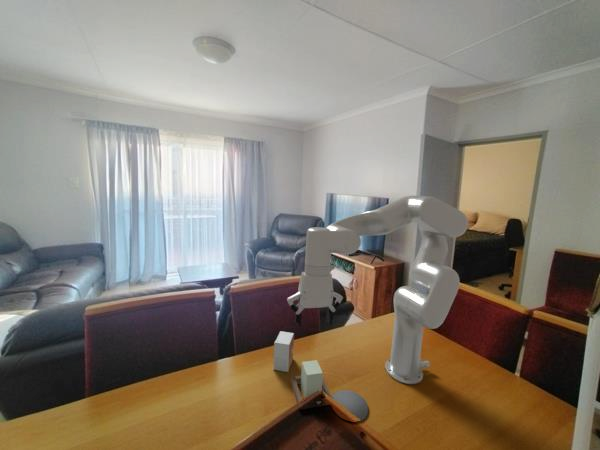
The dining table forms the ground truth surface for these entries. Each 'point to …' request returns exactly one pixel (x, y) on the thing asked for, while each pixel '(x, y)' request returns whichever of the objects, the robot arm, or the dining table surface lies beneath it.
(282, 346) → the small box
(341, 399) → the coaster
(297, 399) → the frame
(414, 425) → the dining table surface
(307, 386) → the sage block
